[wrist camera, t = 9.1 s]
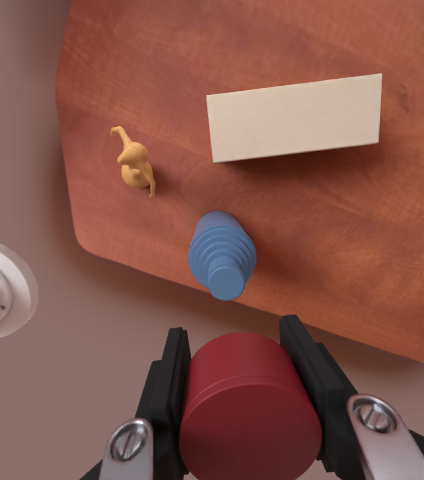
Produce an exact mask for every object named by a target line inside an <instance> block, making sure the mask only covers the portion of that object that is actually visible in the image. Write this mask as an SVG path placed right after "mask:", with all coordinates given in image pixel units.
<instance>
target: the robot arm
mask: <svg viewBox="0 0 424 480" xmlns="http://www.w3.org/2000/svg"><path fill="white" fill-rule="evenodd" d="M12 303H13V295H12V291H11V288H10V286H9V283H8V282H7V280H6V279H5V277H4V276H3V275H2V274H1V273H0V321H1V320H3V319H4V318H5V317H6V316H7V315H8V314H9V312H10V310H11V308H12ZM279 325H280V326H279V327H280V346H281V347H282V348H283V349H284V350H285V351H286V352H287V353H288V355H289V357H290V358H291V360H292V362H293V364H294V367H295V369H296V371H297V373H298V375H299V377H300V379H301V381H302V383H303V386H304V388H305V390H306V392H307V394H308V396H309V398H310V400H311V402H312V404H313V407H314V409H315V411H316V413H317V415H318V417H319V420H320V423H321V427H322V444H321V447H320V451H319V453H318V455H317V457H316V460H317V461H319V460H322V463H323V465H324V468H325V470H326V472H335V474H336V476H338V477H339V478H340V479H342V480H424V437H423V436H421V435H419V434H417V433H415V432H413V431H411V430H409V429H408V428H407V427H406V425H405V423H404V422H403V420H402V418H401V417H400V415H399V414H398V413H397V411H396V410H395V409H394V408H393V407H392V406H391V405H389V404H388V403H386V402H385V401H383V400H382V399H380V398H378V397H375V396H373V395H368V394H358V392H357V391H356V390H355V388H354V387H353V385H352V384H351V382H350V381H349V380H348V378H347V377H346V375H345V374H344V373H343V371H342V370H341V368H340V367H339V366H338V364H337V363H336V361H335V360H334V359H333V357H332V356H331V354H330V353H329V352H328V350H327V349H326V347H325V346H324V345H323V344H322V343H314V341H313V339H312V338H311V336H310V335H309V333H308V332H307V330H306V329H305V328H304V326H303V325H302V323H301V321H300V320H299V318H298V317H297V315H286V316H283V319H280V320H279ZM190 361H191V354H190V347H189V341H188V335H187V331H186V330H183V329H182V327H180V328H170V329H169V333H168V337H167V341H166V345H165V348H164V352H163V356H162V360H158V361H153V362H152V364H151V367H150V370H149V373H148V376H147V380H146V383H145V386H144V390H143V392H142V396H141V399H140V402H139V405H138V409H137V412H136V415H135V418H134V419H130V420H128V421H126V422H124V423H123V424H121V425H120V426H119V427H118V428H117V429H116V430H115V431H114V432H113V433H112V434H111V436H110V438H109V439H108V441H107V444H106V447H105V451H104V456H103V459H102V460H101V461H100V462H99V463H98V464H97V465H95V466H94V467H93V468H92V469H91V470H90V471H89V472H88V473H86V474H85V475H84V476H83V477H82V478H81V479H80V480H183V478H184V475H186V474H189V470H188V469H187V467H186V466H185V464H184V462H183V460H182V458H181V455H180V451H179V442H178V441H179V431H180V422H181V413H182V404H183V395H184V386H185V377H186V371H187V367H188V365H189V363H190Z"/></svg>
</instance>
